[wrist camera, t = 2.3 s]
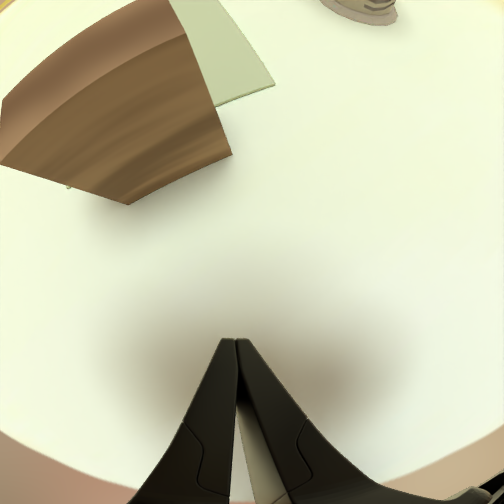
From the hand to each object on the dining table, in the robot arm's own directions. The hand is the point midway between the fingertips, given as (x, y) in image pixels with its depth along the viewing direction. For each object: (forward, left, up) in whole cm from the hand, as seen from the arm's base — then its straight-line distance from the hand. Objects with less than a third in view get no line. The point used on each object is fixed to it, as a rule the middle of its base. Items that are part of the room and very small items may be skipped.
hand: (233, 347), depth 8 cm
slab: (+8, +9, -11) cm, 17 cm away
